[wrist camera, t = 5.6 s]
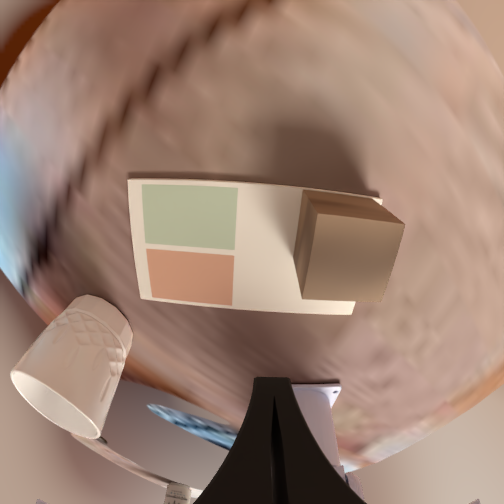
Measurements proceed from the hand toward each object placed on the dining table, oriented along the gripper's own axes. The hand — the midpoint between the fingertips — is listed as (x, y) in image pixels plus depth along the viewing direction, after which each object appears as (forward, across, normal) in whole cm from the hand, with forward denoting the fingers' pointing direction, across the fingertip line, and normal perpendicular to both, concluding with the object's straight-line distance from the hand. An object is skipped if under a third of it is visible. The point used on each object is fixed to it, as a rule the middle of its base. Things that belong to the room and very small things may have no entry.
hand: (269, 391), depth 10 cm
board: (+9, +1, -2) cm, 10 cm away
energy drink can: (+10, +16, +64) cm, 66 cm away
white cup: (+10, +14, +6) cm, 18 cm away
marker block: (+9, -4, -4) cm, 11 cm away
